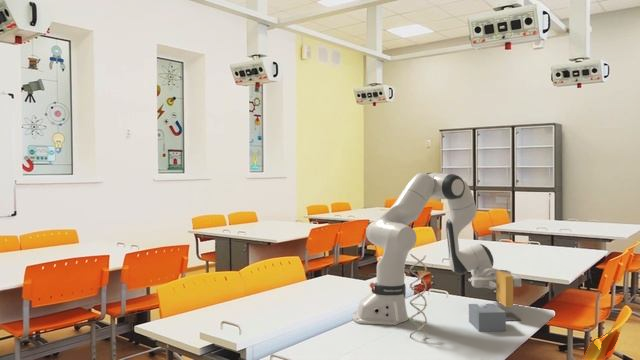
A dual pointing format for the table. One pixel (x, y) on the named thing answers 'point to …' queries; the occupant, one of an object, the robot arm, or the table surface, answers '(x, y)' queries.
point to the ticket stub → (504, 288)
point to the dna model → (419, 295)
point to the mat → (512, 317)
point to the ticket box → (487, 317)
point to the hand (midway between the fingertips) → (502, 285)
